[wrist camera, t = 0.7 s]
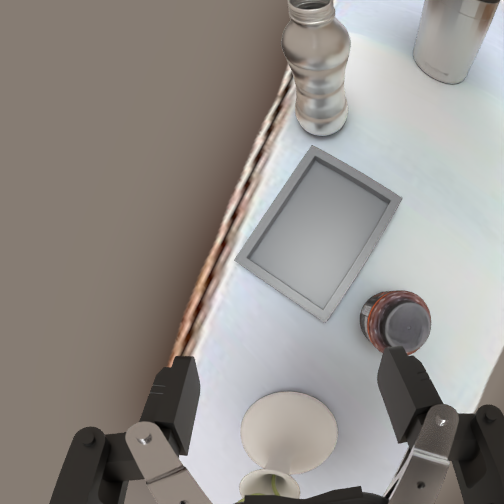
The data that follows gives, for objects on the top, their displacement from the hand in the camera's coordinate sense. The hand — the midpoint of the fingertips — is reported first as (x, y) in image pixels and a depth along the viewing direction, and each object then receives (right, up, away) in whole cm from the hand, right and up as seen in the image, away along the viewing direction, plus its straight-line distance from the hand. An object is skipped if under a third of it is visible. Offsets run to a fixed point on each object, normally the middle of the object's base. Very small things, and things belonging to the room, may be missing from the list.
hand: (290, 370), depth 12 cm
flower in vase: (+4, -17, +21) cm, 27 cm away
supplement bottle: (+13, -3, +20) cm, 24 cm away
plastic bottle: (+8, +22, +25) cm, 34 cm away
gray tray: (+6, +7, +23) cm, 25 cm away
